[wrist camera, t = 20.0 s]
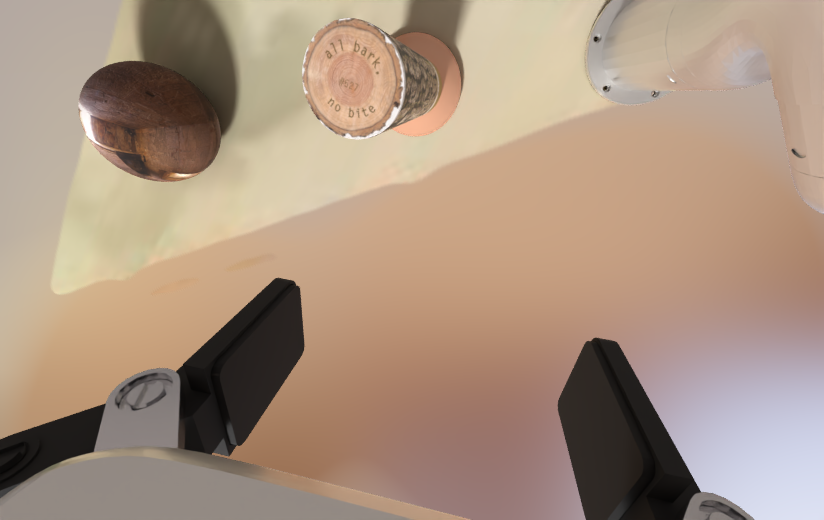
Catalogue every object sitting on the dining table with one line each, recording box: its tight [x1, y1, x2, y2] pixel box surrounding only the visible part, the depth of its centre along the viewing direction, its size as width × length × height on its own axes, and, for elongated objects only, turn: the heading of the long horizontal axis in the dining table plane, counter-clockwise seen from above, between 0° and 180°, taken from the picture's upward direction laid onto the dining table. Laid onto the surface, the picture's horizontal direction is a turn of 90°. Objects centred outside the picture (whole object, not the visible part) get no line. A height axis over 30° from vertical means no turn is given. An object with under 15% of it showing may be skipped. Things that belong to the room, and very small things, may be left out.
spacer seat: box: [392, 32, 461, 136], centre depth 43 cm, size 12×12×1 cm
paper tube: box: [302, 18, 442, 139], centre depth 32 cm, size 7×7×25 cm
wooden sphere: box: [79, 61, 221, 182], centre depth 44 cm, size 15×15×15 cm
